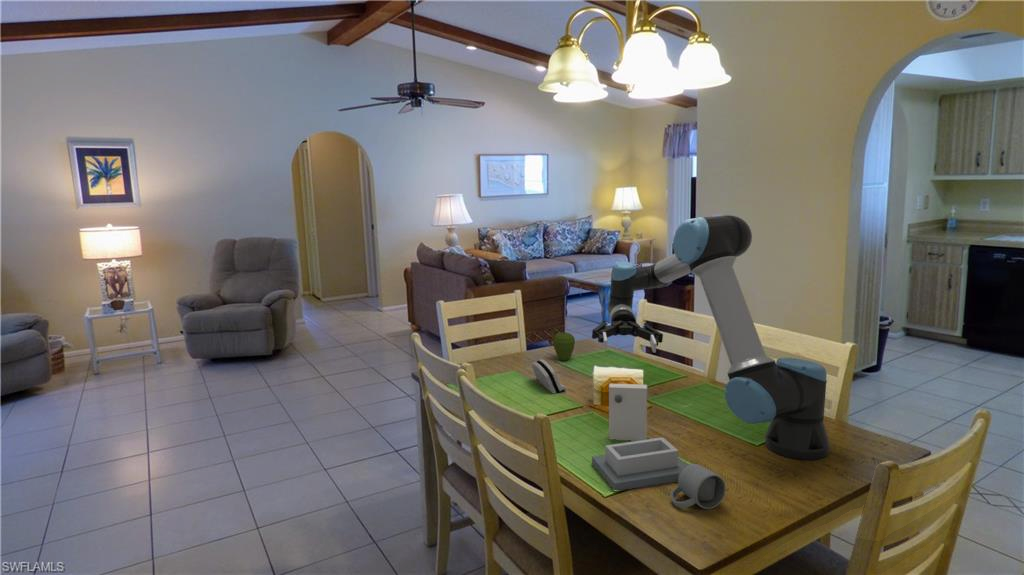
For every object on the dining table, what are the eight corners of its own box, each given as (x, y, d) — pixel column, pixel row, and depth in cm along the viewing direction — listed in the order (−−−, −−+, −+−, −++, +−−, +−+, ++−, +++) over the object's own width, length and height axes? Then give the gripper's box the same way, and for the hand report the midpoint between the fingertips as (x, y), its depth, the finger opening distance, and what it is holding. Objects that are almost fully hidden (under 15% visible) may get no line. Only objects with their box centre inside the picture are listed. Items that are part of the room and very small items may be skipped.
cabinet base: (664, 453, 155) (665, 431, 154) (693, 478, 142) (694, 454, 141) (591, 464, 150) (591, 441, 149) (614, 491, 137) (614, 467, 136)
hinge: (567, 392, 201) (557, 366, 198) (554, 398, 200) (544, 372, 197) (549, 377, 217) (540, 353, 214) (538, 382, 216) (528, 358, 213)
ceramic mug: (701, 487, 138) (702, 456, 136) (726, 505, 130) (726, 472, 129) (662, 498, 134) (662, 466, 133) (685, 516, 127) (685, 483, 125)
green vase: (579, 360, 235) (579, 331, 233) (562, 364, 230) (561, 335, 228) (566, 355, 242) (565, 327, 240) (549, 359, 238) (548, 331, 236)
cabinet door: (646, 436, 165) (646, 384, 162) (646, 443, 161) (647, 390, 158) (609, 434, 167) (609, 383, 164) (608, 441, 163) (608, 388, 160)
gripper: (662, 333, 187) (674, 361, 167) (581, 329, 189) (584, 356, 169) (664, 311, 185) (677, 336, 165) (583, 306, 187) (585, 331, 167)
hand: (630, 346), depth 167 cm, fingers open, 13 cm apart
